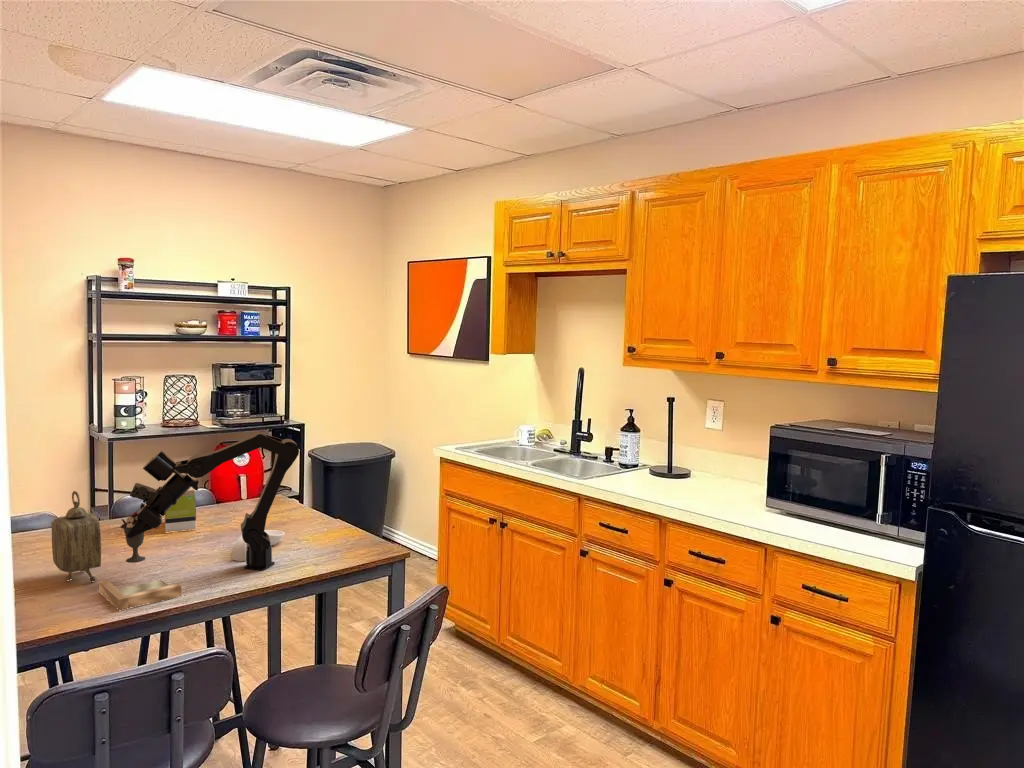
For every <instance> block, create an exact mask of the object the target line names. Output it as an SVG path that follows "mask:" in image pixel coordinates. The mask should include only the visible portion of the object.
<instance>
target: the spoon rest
mask: <svg viewBox="0 0 1024 768" xmlns="http://www.w3.org/2000/svg"><path fill="white" fill-rule="evenodd" d="M264 531H265V532H266V533H267V534H268V535H269V539H270V542H271V544H270V545H273V546H275V545H276V544H278V543H279V542H280V541H281V540H283V538H284V536H285V532H284V531H282V530H279V529H278V530H274V529H264ZM237 539H238V540H237V541H236V543H235V545H234V548H233V550H232V555H231V561H233V560H238V561H237V562H246V551H247V546H248V544H247V543H245V542H244V540H243V538H242V534H241V535H240V536H239V537H238V538H237Z"/></svg>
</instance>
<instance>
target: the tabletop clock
mask: <svg viewBox="0 0 1024 768" xmlns="http://www.w3.org/2000/svg"><path fill="white" fill-rule="evenodd" d="M75 496H76V499H77V500H76V501H75ZM71 501H72V504H73V507H72V508H70V509H69V510H67V512H66V514H65V515H64V516H59V517H57V518H56V519H54V520H53V521H51V546H52V547H51V549H52V550H51V551H52V560H53V563H54V565H55V566H56V567H57V569H59V571H62V572H66V573H68V575H67V576H66V577H65V581H66V580H70V579H72V580H73V576H72V573H74V572H81V571H85V572H84V573H86V575H88V577H89V582H90V581H91V582H90V583H93V582H92V581H95V582H96V581H97V577H96V576H94V575H92V573H91V571H90V569H91V570H92V569H94V568H99V567H101V564H102V538H101V525H100V521H99V519H98V517H96V516H95V515H94V514H93V513H92V512H87V511H86V509H85V508H83V507H80V503H81V501H80V495H79V493H78V491H77V490H74V491H72V494H71Z"/></svg>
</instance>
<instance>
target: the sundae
mask: <svg viewBox="0 0 1024 768" xmlns="http://www.w3.org/2000/svg"><path fill="white" fill-rule="evenodd" d="M141 508H143V507H141V505H140V506H139V508H138V509H137V511H140V510H141ZM137 511H136V512H135V511H134V512H133V513H132V514H131V515H129V516H128V517H127V518H126V520H125V519H124V518H122V519H121V521H122V522H123V524H122V525H120V529H123V530H124V536H125V541H126V544H127V546H129V547H130V548H131V549H132V556H131V557H128V558H126V560H125V562H126V563H130V564H135V563H140V562H143V561H145V560H146V558H147V557H145V556H142V555H141V556H140V554H139V547H141V545H143V543H144V539H145V532H143V533H141V534H138V535H136V536H134V537H132V538H128V537H127V534H128V533H129V532H130V530H131V529H132V527H133V526H134V525H135V523H136V522H137V520H138V518H137V514H138V512H137Z"/></svg>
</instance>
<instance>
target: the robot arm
mask: <svg viewBox="0 0 1024 768" xmlns="http://www.w3.org/2000/svg"><path fill="white" fill-rule="evenodd" d="M260 448H261V449H264V450H266V451H269V452H271V453H273V454H275V455H274V461H273V466H272V468H271V471H270V474H269V475H268V478H267V480H266V483H265V485H264V487H263V490H262V492H261V494H260V497H259V499H258V501H257V503H256V506H255V507H254V510H253V511H252V512H251V513H250V514H249V513H248V512H245V516H244V519H243V521H242V522H241V524H240V530H241V535H242V538H243V540H244V542H245V543H247V546H246V561H245V563H246V565H244V567H243V568H244V569H247V570H248V569H249V570H257V571H264V570H266V569H269V568H270V567H271V566H274V565H275V563H276V562H275V561H273V559H272V558H273V557H272V556H273V555H272V552H273V551H272V550H273V549H272V548H273V546H272V545H270V544H271V542H270V539H269V535H268V534H267V533H266V532H265V531H264V530H266V523H267V518H268V514H269V512H270V510H271V507H272V505H273V503H274V501H275V498H276V495H277V494H278V491H279V489H280V486H281V485H282V482H283V479H284V477H285V475H286V473H287V471H288V470H289V469H290V468H291V466H292V465H293V464H294V462H296V460H297V458H298V456H299V454H300V449H299V446H298V445H297V443H296V442H295V441H294V440H293V439H290V438H284V439H281V438H279V437H276V436H272V435H269V434H266V433H265V432H262V431H260V432H257V433H254V434H252V435H251V436H248V437H246V438H243V439H241V440H239V441H237V442H233V443H231V444H229V445H227V446H225V447H221V448H220V449H217V450H213V451H207V452H202V453H198V454H193V455H192V456H190V457H189V458H188V459H183V460H178V461H174V460H173V459H172V458H171V457H169V456H168V455H167V454H166V453H165V452H164V451H163V450H161V451H160V452H158V453H157V454H156V455H155V456H154V457H151V458H150V459H149V460H148V462H146V464H145V465H143V467H142V469H143V471H145V472H146V473H147V474H149V475H150V476H151V477H153V478H154V479H155V481H157V482H160V481H161V482H163V481H164V482H165V483H164V484H163V485H162V486H158V488H154V487H150V486H148V485H144V484H142V483H139V482H135V483H134V485H133V487H132V489H131V492H130V494H129V497H130V498H132V499H135V498H136V499H139V500H142V502H143V503H142V502H141V504H140V506H141V507H143V508H140V509H141V510H140V509H139V510H138V511H137V518H138V520H137V522H136V523H135V525H134V526H133V527H132V529H131V530H130V532H129V533H128V534H127V537H128V538H132V537H134V536H136V535H138V534H141V533H143V532H144V533H146V532H147V531H151V530H153V529H156V530H157V529H158V528H159V527H160V526H161V525H162V522H163V517H165V514H166V511H167V510H168V509H169V508H170V507H171V506H172V505H175V504H176V503H177V500H178V499H179V498H180V497H181V496H182V495H183V494H184V493H185V492H186V491H187V490H188V489H189V488H190V487H192V488H193V489H195V492H196V491H198V490H199V481H200V479H199V478H202V477H204V476H206V475H207V474H209V473H210V472H212V471H213V470H215V469H216V468H217V467H219V466H221V465H222V464H224V463H226V462H229V461H231V460H234V459H236V458H239V457H241V456H243V455H245V454H248V453H251V452H253V451H255V450H257V449H260ZM172 475H173V476H172ZM170 477H171V478H170ZM167 480H168V481H167Z"/></svg>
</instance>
